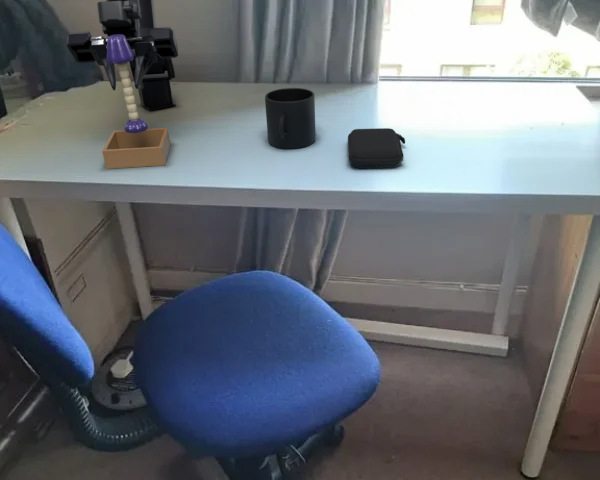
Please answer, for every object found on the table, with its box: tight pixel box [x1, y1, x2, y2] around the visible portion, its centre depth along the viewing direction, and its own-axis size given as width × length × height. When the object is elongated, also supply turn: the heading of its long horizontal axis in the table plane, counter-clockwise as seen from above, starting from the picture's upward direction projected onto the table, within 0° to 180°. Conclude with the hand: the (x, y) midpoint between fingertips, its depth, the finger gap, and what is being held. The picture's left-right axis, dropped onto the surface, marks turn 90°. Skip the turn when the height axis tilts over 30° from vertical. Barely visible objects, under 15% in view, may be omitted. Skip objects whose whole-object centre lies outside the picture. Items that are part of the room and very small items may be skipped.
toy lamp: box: [106, 34, 149, 133], centre depth 112 cm, size 5×5×17 cm
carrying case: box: [347, 127, 406, 169], centre depth 115 cm, size 11×3×15 cm
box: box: [101, 127, 172, 170], centre depth 119 cm, size 11×11×4 cm
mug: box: [264, 87, 317, 150], centre depth 120 cm, size 9×12×9 cm
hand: (124, 88), depth 111 cm, fingers closed on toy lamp, 4 cm apart
